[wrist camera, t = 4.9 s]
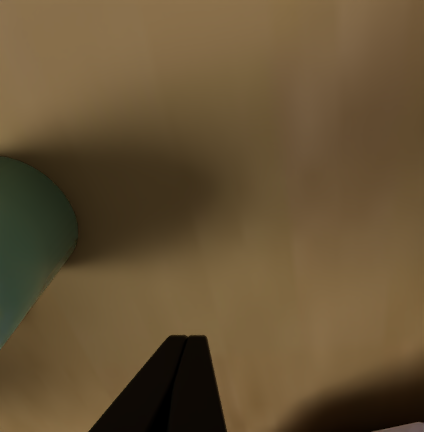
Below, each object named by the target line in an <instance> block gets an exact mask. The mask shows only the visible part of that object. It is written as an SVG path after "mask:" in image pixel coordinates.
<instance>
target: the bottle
mask: <svg viewBox="0 0 424 432" xmlns="http://www.w3.org/2000/svg"><path fill="white" fill-rule="evenodd" d="M77 239H78V225H77V220H76V216H75V214H74V211H73V209H72V207H71V205H70V203H69V201H68V200H67V198H66V197H65V195H64V194H63V192H62V191H61V190H60V189H59V188H58V187H57V186H56V185H55V184H54V183H53V182H52V181H51V180H50V179H49V178H48V177H46V176H45V175H44V174H43V173H41V172H40V171H38V170H36V169H35V168H33V167H31V166H29V165H27V164H25V163H23V162H21V161H18V160H15V159H12V158H8V157H2V156H0V350H1V348H2V347H3V346H4V344H5V343H6V342H7V340H8V339H9V338H10V336H11V335H12V334H13V332H14V331H15V330H16V328H17V327H18V325H19V324H20V323H21V321H22V320H23V319H24V317H25V316H26V315H27V313H28V312H29V311H30V309H31V308H32V307H33V305H34V304H35V303H36V301H37V300H38V299H39V297H40V296H41V295H42V293H43V292H44V290H45V289H46V288H47V286H48V285H49V284H50V282H51V281H52V280H53V278H54V277H55V276H56V274H57V273H58V272H59V270H60V269H61V268H62V266H63V265H64V264H65V262H66V261H67V260H68V258H69V257H70V256H71V254H72V252H73V251H74V249H75V246H76V244H77Z"/></svg>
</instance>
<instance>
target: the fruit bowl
mask: <svg viewBox="0 0 424 432" xmlns="http://www.w3.org/2000/svg"><path fill="white" fill-rule="evenodd" d="M373 432H424V423H421V422H416V423H411V424H406V425H401V426H397V427H392V428H387V429H382V430H378V431H373Z"/></svg>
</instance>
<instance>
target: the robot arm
mask: <svg viewBox="0 0 424 432" xmlns="http://www.w3.org/2000/svg"><path fill="white" fill-rule="evenodd" d="M89 432H227V429H226V424H225V419H224V415H223V410H222V406H221V401H220V396H219V392H218V387H217V382H216V378H215V373H214V368H213V364H212V359H211V354H210V350H209V345H208V340H207V337H206V336H205V335H190V336H189V337H187V336H186V335H171V336H169V337H168V338H167V339H166V340H165V341H164V342H163V343H162V345H161V346H160V347H159V348H158V349H157V351H156V352H155V353H154V354H153V355H152V356H151V358H150V359H149V360H148V361H147V362H146V364H145V365H144V366H143V367H142V368H141V370H140V371H139V372H138V373H137V374H136V376H135V377H134V378H133V379H132V380H131V382H130V383H129V384H128V385H127V386H126V388H125V389H124V390H123V391H122V392H121V393H120V395H119V396H118V397H117V398H116V399H115V401H114V402H113V403H112V404H111V405H110V407H109V408H108V409H107V410H106V411H105V413H104V414H103V415H102V416H101V417H100V419H99V420H98V421H97V422H96V423H95V424H94V426H93V427H92V428H91V429H90V430H89Z"/></svg>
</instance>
